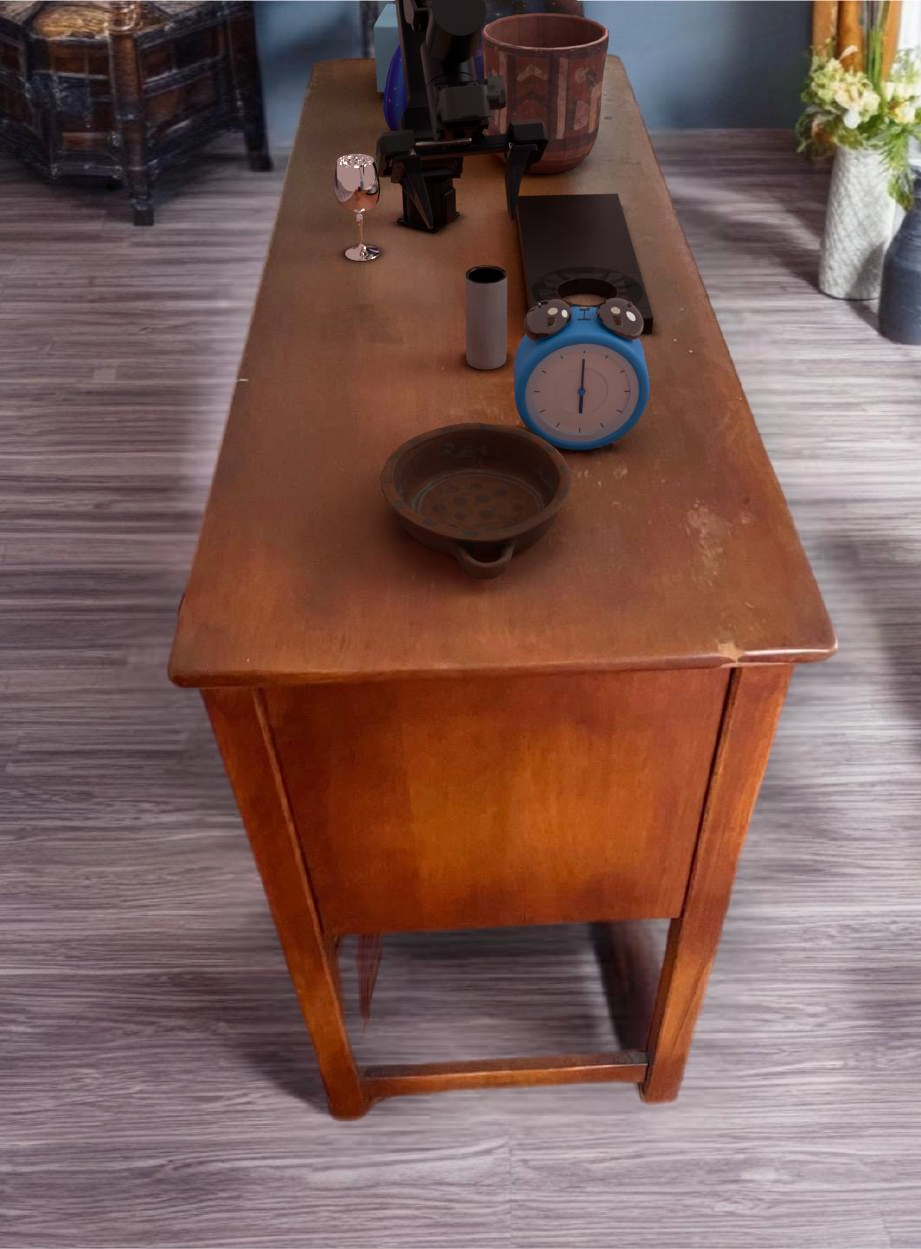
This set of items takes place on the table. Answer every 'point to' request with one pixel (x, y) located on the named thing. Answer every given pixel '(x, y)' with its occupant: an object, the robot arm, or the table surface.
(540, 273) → the plant stand
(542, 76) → the pottery
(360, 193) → the wineglass
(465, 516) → the dish
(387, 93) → the ornament
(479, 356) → the planter
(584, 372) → the alarm clock
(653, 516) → the table surface
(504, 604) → the table surface
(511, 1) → the decorative sphere
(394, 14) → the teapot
